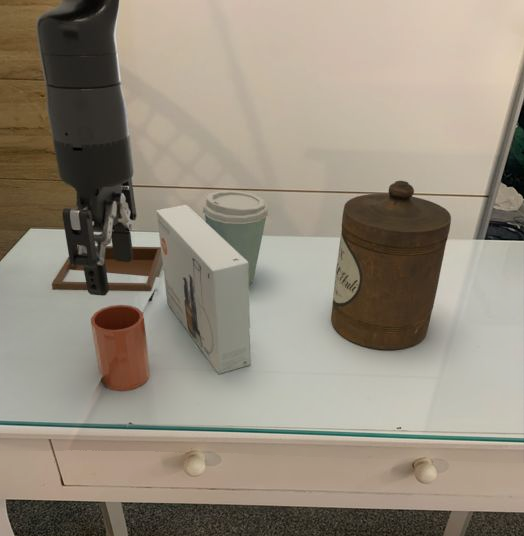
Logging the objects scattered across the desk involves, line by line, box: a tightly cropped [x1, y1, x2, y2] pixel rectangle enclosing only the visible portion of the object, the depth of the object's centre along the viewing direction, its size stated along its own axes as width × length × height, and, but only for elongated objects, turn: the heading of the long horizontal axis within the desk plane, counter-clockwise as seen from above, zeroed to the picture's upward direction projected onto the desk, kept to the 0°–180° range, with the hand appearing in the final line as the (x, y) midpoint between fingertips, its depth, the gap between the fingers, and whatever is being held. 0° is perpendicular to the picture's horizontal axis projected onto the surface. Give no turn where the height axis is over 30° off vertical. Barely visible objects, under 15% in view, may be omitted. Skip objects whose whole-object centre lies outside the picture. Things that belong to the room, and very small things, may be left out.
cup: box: [90, 304, 151, 392], centre depth 71 cm, size 6×6×9 cm
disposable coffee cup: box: [202, 189, 269, 286], centre depth 92 cm, size 11×11×15 cm
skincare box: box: [156, 204, 252, 375], centre depth 78 cm, size 21×6×16 cm, turn 27°
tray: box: [51, 245, 163, 301], centre depth 95 cm, size 16×15×3 cm
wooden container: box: [330, 180, 452, 350], centre depth 80 cm, size 15×15×22 cm
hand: (112, 276), depth 65 cm, fingers open, 8 cm apart
